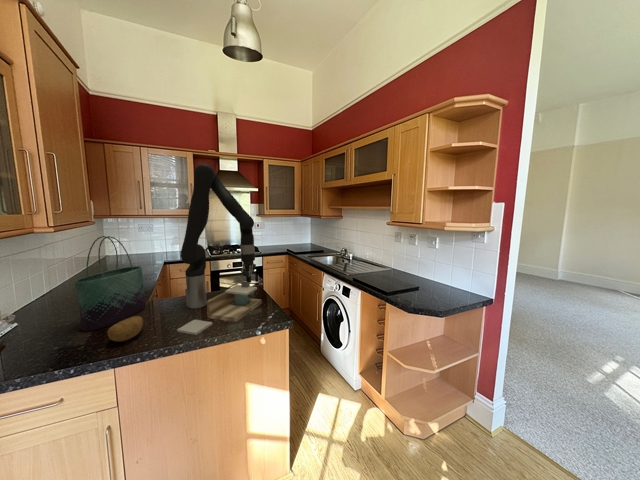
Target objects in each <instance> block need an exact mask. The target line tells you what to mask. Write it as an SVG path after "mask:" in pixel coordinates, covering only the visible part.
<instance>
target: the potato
mask: <svg viewBox="0 0 640 480" xmlns="http://www.w3.org/2000/svg"><path fill="white" fill-rule="evenodd" d="M143 326H144V318H143V317H141V316H140V315H133V316H131V317H129V318H127V319H124V320H122V321H120V322H117V323H115V324H113V325H111V327H109V328H108V330H107V336H108V339H109V340H110V341H113V342H118V343H119V342H126V341H129V340H132V339H133V338H135V337H136V336H137V335H138V334H139V333H140V332H141V330H142V328H143Z"/></svg>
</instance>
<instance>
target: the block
mask: <svg viewBox="0 0 640 480" xmlns="http://www.w3.org/2000/svg"><path fill="white" fill-rule="evenodd" d="M249 298H250V297H249V294H248V295H240V294H235V305H237V306H246V305H247V304H249Z"/></svg>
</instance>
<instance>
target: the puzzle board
mask: <svg viewBox="0 0 640 480" xmlns="http://www.w3.org/2000/svg"><path fill="white" fill-rule="evenodd" d="M206 301H207V304H206V311H207V312H206V315H207V318H208V319H213V320H218V321H219V320H220V321H226V322H232V323H237V322H238V321H240V320H241V319H243V318H244V317H245V316H247V315H248V314H249V313H251V312H252V311H254V310H255V309H256V308H258V307H259V306H260V305H261V304H262V303H263V299H258V298H252V297H251V298H250V297H249V304H247V305H246V306H237V305H235V294H232V293H225V291H224V292H222V293H220V294H218V295H216V296H214V297H212V298H210V299H207V300H206Z"/></svg>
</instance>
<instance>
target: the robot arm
mask: <svg viewBox="0 0 640 480" xmlns="http://www.w3.org/2000/svg"><path fill="white" fill-rule="evenodd" d="M210 191H212V193H214V194H215V195H216V197H217V198H218V200H219V201H220V203H221V204H222V205H223V207H224V208H225V209H226V211H228V213H229V214H230V215H231V216H232V217H234V219H235V220H236V221H237V222H238V224H239V231H240V233H239V234H240V262H242V268H240V269H239V271H240V273H241V274H242V276H243V277H245V278H246V281H245V282H250V284H251V283H252V275H253V274H255V270H256V268H257V264H256V263H254V262H255V260H256V248H255V237H254V234H253V228H254V226H255V221H254V219H253V217H252V216H251V215H250V214H249V213H248V212H247V211H246V210H245V209H244V208H243V206H242V205H241V204H240V202H239V201H238V200H237V199H236V198H235V196H234V195H233V194H232V193H231V192H230V191H229V190H228V189H227V187H226V186H225V185H224V184H223V182H222V181H221V180H220V178H219V176H218V174H217V172H216V170H215V169H214V167H212V166H211V165H210V164H205V163H200V164H198V165H196V167H195V168H194V170H193V189H192V194H191V195H192V196H191V199H190V204H189V208H188V213H187V214H188V215H187V221H186V222H187V223H186V227H185V235H184V239H183V241H182V242H183V243H182V246H181V250H180V259H181V260H182V262H183V263H184V264H186V265H189V266H188V267H187V268H186V269H185V282H186V283H185V285H186V288H185V290H184V293H185V303H186V304H185V306H186V307H187V308H188V309H201V308H203V307H205V306H207V301H208V300H207V289H206V288H207V287H206V273H205V271H206V268H207V253H206V249H205V248H204V246H203V245H202V244H199V239H200V237H201V235H202V233H203V232H204V230H205V228H206V226H207V224H208V221H209V216H210V214H209V213H210Z"/></svg>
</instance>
